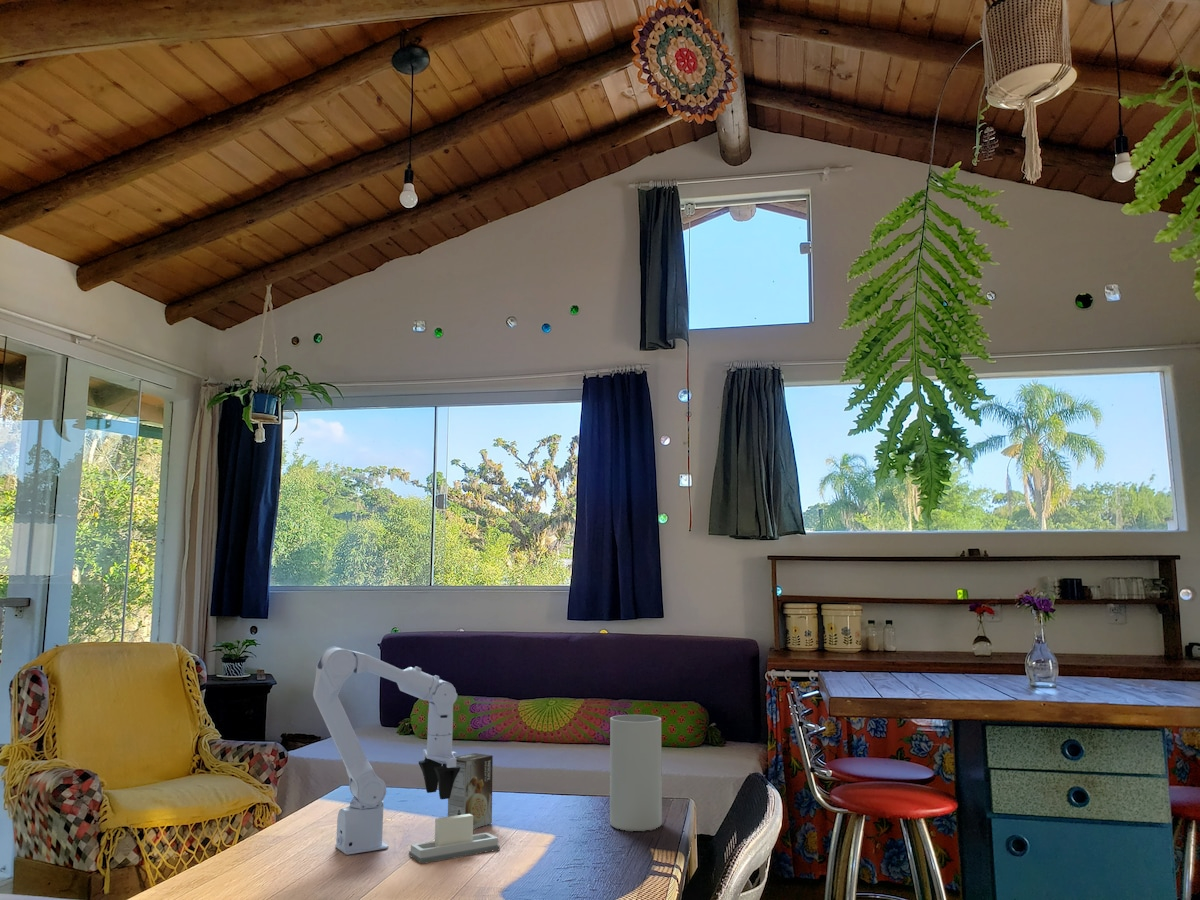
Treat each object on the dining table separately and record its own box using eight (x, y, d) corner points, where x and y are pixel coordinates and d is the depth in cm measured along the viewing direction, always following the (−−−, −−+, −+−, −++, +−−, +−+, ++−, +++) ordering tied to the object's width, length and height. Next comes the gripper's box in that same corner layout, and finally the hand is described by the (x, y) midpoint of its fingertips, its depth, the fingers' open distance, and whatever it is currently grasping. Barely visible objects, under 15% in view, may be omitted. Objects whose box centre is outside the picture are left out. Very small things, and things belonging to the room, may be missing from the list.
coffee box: (473, 820, 219) (475, 752, 222) (492, 824, 215) (494, 755, 218) (446, 827, 212) (448, 757, 214) (465, 832, 208) (466, 760, 210)
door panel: (438, 852, 189) (439, 820, 190) (434, 850, 191) (435, 818, 192) (472, 847, 193) (473, 815, 194) (468, 844, 195) (469, 813, 196)
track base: (421, 863, 184) (422, 851, 185) (409, 855, 190) (409, 843, 190) (499, 849, 194) (499, 838, 195) (485, 842, 200) (485, 831, 200)
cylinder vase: (663, 832, 208) (662, 722, 212) (609, 832, 209) (610, 721, 213) (660, 819, 221) (660, 714, 225) (610, 818, 221) (610, 714, 225)
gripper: (469, 736, 202) (467, 799, 200) (443, 728, 214) (441, 787, 212) (440, 739, 198) (438, 803, 196) (415, 730, 210) (413, 790, 208)
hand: (438, 795), depth 204 cm, fingers open, 7 cm apart
